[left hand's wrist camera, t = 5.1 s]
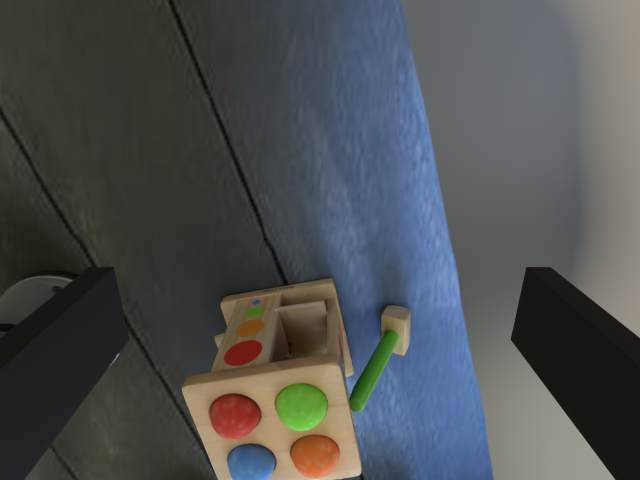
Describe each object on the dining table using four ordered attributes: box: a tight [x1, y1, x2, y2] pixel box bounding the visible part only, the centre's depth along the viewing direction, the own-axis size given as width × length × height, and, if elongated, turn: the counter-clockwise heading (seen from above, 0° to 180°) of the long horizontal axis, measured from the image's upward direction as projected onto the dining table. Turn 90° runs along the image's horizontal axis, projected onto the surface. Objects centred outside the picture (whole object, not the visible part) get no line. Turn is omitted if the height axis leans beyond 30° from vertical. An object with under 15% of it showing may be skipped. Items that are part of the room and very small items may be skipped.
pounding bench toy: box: [182, 278, 411, 480], centre depth 43 cm, size 23×14×18 cm, turn 101°
